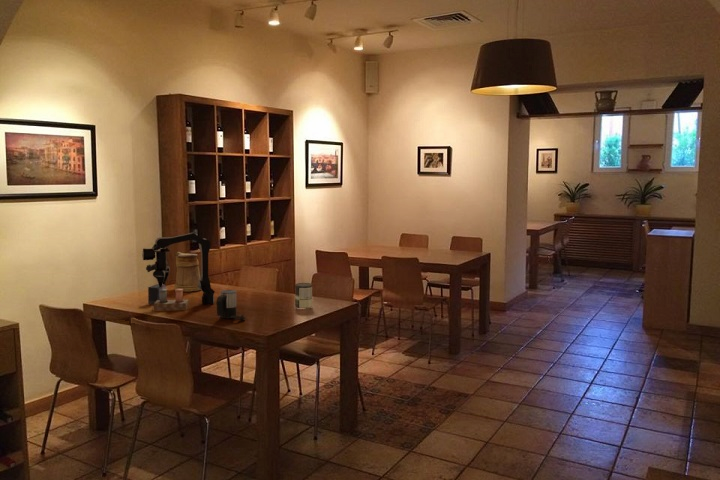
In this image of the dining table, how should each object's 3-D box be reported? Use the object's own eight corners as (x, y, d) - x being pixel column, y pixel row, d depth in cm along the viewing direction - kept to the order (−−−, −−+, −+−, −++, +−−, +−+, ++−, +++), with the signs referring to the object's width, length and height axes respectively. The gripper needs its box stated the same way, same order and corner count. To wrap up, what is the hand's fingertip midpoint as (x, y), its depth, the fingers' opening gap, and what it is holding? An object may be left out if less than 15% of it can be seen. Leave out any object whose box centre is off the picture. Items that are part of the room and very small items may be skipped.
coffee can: (291, 308, 348) (291, 285, 346) (300, 305, 357) (300, 282, 355) (306, 310, 343) (306, 286, 342) (315, 306, 352) (315, 283, 351)
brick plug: (183, 302, 346) (183, 288, 345) (182, 303, 342) (182, 290, 341) (175, 302, 346) (175, 288, 345) (174, 303, 341) (174, 290, 340)
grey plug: (168, 302, 345) (167, 288, 344) (166, 304, 340) (166, 290, 340) (160, 302, 344) (159, 289, 343) (158, 304, 340) (158, 290, 339)
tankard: (186, 293, 385) (186, 256, 383) (164, 289, 399) (164, 252, 396) (208, 289, 400) (208, 253, 397) (186, 285, 414) (186, 250, 411)
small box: (157, 304, 353) (157, 287, 351) (147, 304, 354) (147, 287, 353) (166, 301, 363) (166, 284, 362) (157, 300, 364) (156, 283, 363)
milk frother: (223, 315, 329) (223, 289, 328) (250, 316, 328) (250, 290, 326) (214, 321, 315) (214, 294, 314) (243, 322, 314) (242, 295, 312)
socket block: (188, 306, 350) (188, 299, 349) (186, 310, 340) (186, 303, 339) (157, 306, 347) (156, 300, 346) (153, 310, 337) (153, 303, 337)
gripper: (150, 257, 350) (151, 282, 352) (143, 261, 332) (144, 289, 333) (170, 257, 351) (170, 282, 353) (163, 261, 333) (164, 288, 335)
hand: (162, 285), depth 343 cm, fingers open, 9 cm apart
